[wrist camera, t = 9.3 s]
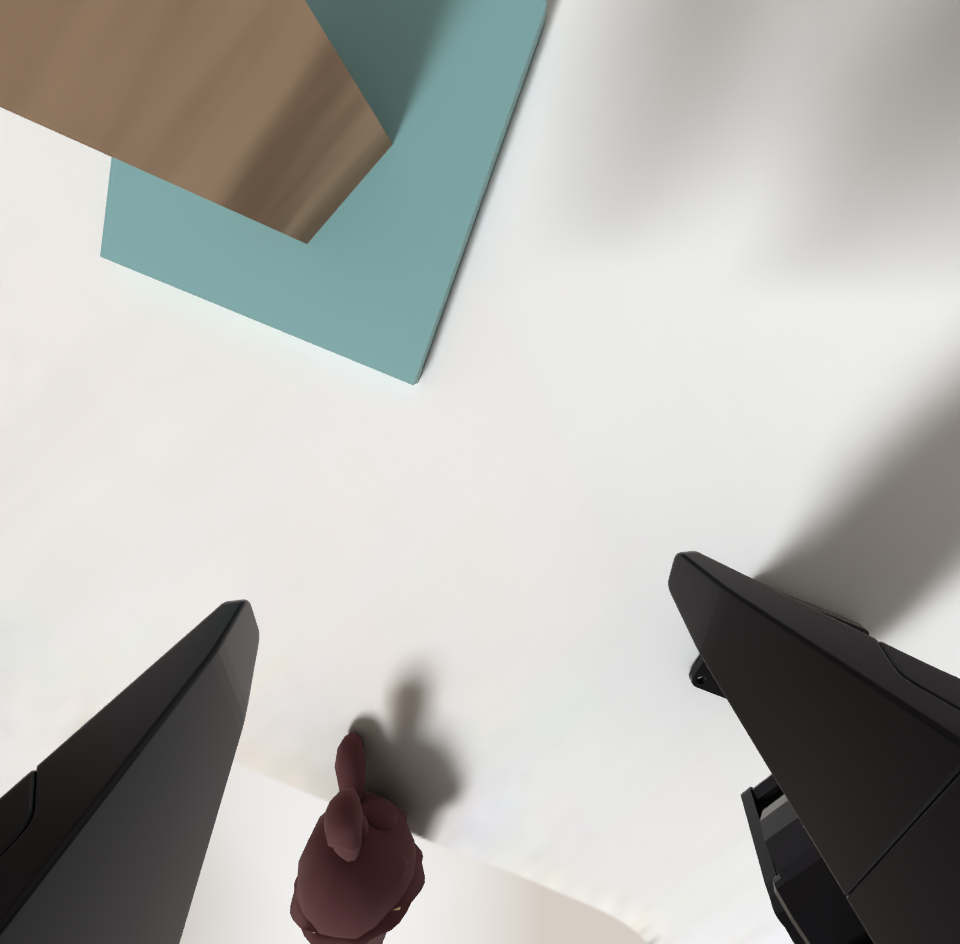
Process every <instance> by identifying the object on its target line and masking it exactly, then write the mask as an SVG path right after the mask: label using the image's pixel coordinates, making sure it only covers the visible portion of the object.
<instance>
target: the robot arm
mask: <svg viewBox="0 0 960 944" xmlns="http://www.w3.org/2000/svg"><path fill="white" fill-rule="evenodd" d="M668 586H669V590H670V593H671V595H672V597H673V599H674V601H675V603H676V606H677V608H678V610H679V612H680V614H681V616H682V618H683V620H684V622H685V624H686V627H687V629H688V631H689V633H690V635H691V637H692V639H693V641H694V643H695V645H696V647H697V649H698V651H699V653H700V655H701V656H700V658H699V659H698V661H697V662H696V664H695V665H694V666H693V668H692V669H691V671H690V673H689V678H690V680H691V682H692V684H693V685H694V686H695V687H697V688H700V689H702V690H705V691H708V692H710V693H713V694H715V695H718V696H721V697H723V698H726V699H727V700H728V702H729V703H730V705H731V707H732V708H733V710H734V712H735V713H736V715H737V717H738V718H739V720H740V722H741V723H742V725H743V727H744V728H745V730H746V731H747V733H748V735H749V736H750V738H751V740H752V741H753V743H754V745H755V746H756V748H757V750H758V751H759V753H760V755H761V756H762V758H763V760H764V761H765V763H766V765H767V766H768V768H769V770H770V771H771V773H772V774H771V775H770V776H769V777H767V778H766V779H765V780H763V781H762V782H761V783H759V784H758V785H757V786H756V787H754V788H753V787H750V788H748V789H747V790H746V791H744V792H743V793H742V794H741V798H742V801H743V805H744V809H745V812H746V816H747V820H748V823H749V827H750V831H751V834H752V838H753V842H754V845H755V849H756V853H757V856H758V860H759V864H760V867H761V871H762V875H763V878H764V882H765V885H766V888H767V891H768V894H769V897H770V900H771V904H772V907H773V910H774V913H775V914H776V916H777V918H778V919H779V921H780V922H781V923H782V925H783V926H784V927H785V928H786V930H787V932H788V933H789V935H790V937H791V939H792V941H793V942H794V944H960V679H959V678H957V677H955V676H953V675H950V674H948V673H946V672H944V671H941V670H939V669H937V668H935V667H933V666H931V665H929V664H927V663H925V662H922V661H920V660H918V659H916V658H914V657H912V656H910V655H908V654H906V653H903V652H901V651H899V650H897V649H895V648H893V647H891V646H889V645H887V644H885V643H883V642H878V641H877V640H876V639H875V638H873V637H871V636H869V633H868V631H867V630H866V629H865V628H864V627H862V626H861V625H860V624H858V623H855V622H853V621H850V620H848V619H845V618H843V617H840V616H838V615H835V614H833V613H830V612H828V611H825V610H823V609H820V608H818V607H815V606H813V605H810V604H808V603H806V602H803V601H801V600H798V599H796V598H793V597H791V596H788V595H786V594H783V593H781V592H779V591H777V590H774V589H772V588H770V587H768V586H766V585H764V584H762V583H760V582H758V581H756V580H754V579H752V578H750V577H748V576H746V575H744V574H742V573H740V572H738V571H736V570H734V569H731V568H729V567H727V566H725V565H723V564H721V563H719V562H717V561H715V560H713V559H711V558H709V557H707V556H705V555H703V554H701V553H699V552H696V551H688V552H680V553H678V554H677V555H676V556H675V558H674V561H673V565H672V569H671V572H670V576H669V580H668ZM258 644H259V629H258V626H257V623H256V620H255V617H254V613H253V610H252V607H251V604H250V603H249V601H247V600H235V601H227V602H224V603H223V604H221V605H220V606H219V607H218V608H217V609H215V610H214V611H213V612H212V613H211V614H210V615H209V616H207V617H206V618H205V619H204V620H203V621H202V622H201V623H200V624H198V625H197V626H196V627H195V628H194V629H193V630H192V631H190V632H189V633H188V634H187V635H186V636H185V637H184V638H182V639H181V640H180V641H179V642H178V643H177V644H176V645H174V646H173V647H172V648H171V649H170V650H169V651H168V652H166V653H165V654H164V655H163V656H162V657H161V658H160V659H159V660H157V661H156V662H155V663H154V664H153V665H152V666H151V667H149V668H148V669H147V670H146V671H145V672H144V673H143V674H141V675H140V676H139V677H138V678H137V679H136V680H135V681H133V682H132V683H131V684H130V685H129V686H128V687H127V688H125V689H124V690H123V691H122V692H121V693H120V694H119V695H117V696H116V697H115V698H114V699H113V700H112V701H111V702H110V703H108V704H107V705H106V706H105V707H104V708H103V709H102V710H100V711H99V712H98V713H97V714H96V715H95V716H94V717H92V718H91V719H90V720H89V721H88V722H87V723H86V724H84V725H83V726H82V727H81V728H80V729H79V730H78V731H76V732H75V733H74V734H73V735H72V736H71V737H70V738H68V739H67V740H66V741H65V742H64V743H63V744H62V745H61V746H59V747H58V748H57V749H56V750H55V751H54V752H53V753H51V754H50V755H49V756H48V757H47V758H46V759H45V760H43V761H42V762H41V763H40V764H39V765H38V766H37V769H36V770H34V771H31V772H30V773H28V774H27V775H26V776H25V777H24V778H23V779H22V780H20V781H19V782H18V783H17V784H16V785H15V786H14V787H12V788H11V789H10V790H9V791H8V792H7V793H6V794H4V795H3V796H2V797H1V798H0V944H179V943H180V939H181V936H182V932H183V929H184V926H185V922H186V919H187V915H188V912H189V909H190V905H191V902H192V899H193V895H194V891H195V888H196V885H197V881H198V878H199V875H200V871H201V868H202V864H203V861H204V858H205V854H206V851H207V848H208V844H209V841H210V837H211V834H212V830H213V827H214V824H215V820H216V817H217V813H218V810H219V807H220V803H221V800H222V797H223V793H224V789H225V786H226V783H227V780H228V776H229V773H230V769H231V766H232V763H233V759H234V756H235V752H236V749H237V746H238V742H239V739H240V735H241V732H242V728H243V724H244V721H245V716H246V711H247V706H248V701H249V695H250V689H251V683H252V678H253V672H254V666H255V661H256V655H257V649H258ZM701 676H703V677H702V678H699V679H697V678H698V677H701Z"/></svg>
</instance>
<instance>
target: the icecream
mask: <svg viewBox="0 0 960 944" xmlns="http://www.w3.org/2000/svg"><path fill="white" fill-rule="evenodd" d="M335 770H336V775H337V780H338V785H339V790H340V792H339V793H338V794H337V795H336V796H335V797H334V798H333V799H332V800H331V801H330V802H329V805H328V807H327V810H326V812H325V813H324V814H323V815H322V816H320V818H319V820H318V822H317V824H316V826H315V828H314V830H313V832H312V834H311V836H310V838H309V840H308V842H307V844H306V847H305V849H304V851H303V853H302V855H301V858H300V860H299V866H298V876H297V878H296V880H295V883H294V894H293V898H292V902H291V906H290V914H291V917H292V919H293V920H294V921H295V923H296V924H297V925H298V926H299V927H300V928H301V929H302V932H303V934H304V936H305V937H306V939H307V940H308V941H309V942H310V944H382V943H383V940H384V938H385V935H386V932H388V931H390V930H392V929H393V928H394V927H395V926H396V925H397V924H398V923H400V921H401V920H402V918H403V917H404V915H405V914H406V912H407V910H408V908H409V906H410V904H411V902H412V901H413V900H414V899H415V897H416V896H417V895H418V893H419V892H420V891H421V889H422V887H423V885H424V883H425V875H424V871H423V866H422V858H423V855H422V851H421V850H420V849H419V848H418V846H417V845H416V844H415V843H414V839H413V837H412V834H411V832H410V830H409V828H408V825H407V815H406V814H405V813H404V812H403V811H402V810H401V809H400V808H399V807H398V806H397V805H396V804H395V803H394V802H392V801H390V800H387V799H385V798H383V797H381V796H379V795H377V794H375V793H373V792H369V793H365V785H366V762H365V755H364V749H363V744H362V739H361V737H360V736H359V734H357V733H350V734H348V735H346V736H345V737H344V739H343V740H342V742H341V744H340V745H339V747H338V749H337V756H336V762H335Z"/></svg>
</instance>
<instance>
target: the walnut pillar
mask: <svg viewBox="0 0 960 944" xmlns="http://www.w3.org/2000/svg"><path fill="white" fill-rule="evenodd" d="M0 107H2V108H4V109H6V110H8V111H11V112H13V113H15V114H17V115H20V116H22V117H24V118H26V119H28V120H31V121H33V122H35V123H37V124H40V125H42V126H44V127H46V128H49V129H51V130H53V131H55V132H58V133H60V134H62V135H64V136H66V137H69V138H71V139H73V140H75V141H78V142H80V143H82V144H84V145H87V146H89V147H91V148H93V149H96V150H98V151H100V152H102V153H104V154H107V155H109V156H111V157H113V158H116V159H118V160H120V161H122V162H125V163H127V164H129V165H131V166H134V167H136V168H138V169H140V170H142V171H145V172H147V173H149V174H151V175H154V176H156V177H158V178H160V179H163V180H165V181H167V182H169V183H172V184H174V185H176V186H178V187H180V188H183V189H185V190H187V191H189V192H192V193H194V194H196V195H198V196H201V197H203V198H205V199H207V200H210V201H212V202H214V203H216V204H218V205H221V206H223V207H225V208H227V209H230V210H232V211H234V212H236V213H239V214H241V215H243V216H245V217H247V218H250V219H252V220H254V221H256V222H259V223H261V224H263V225H265V226H268V227H270V228H272V229H274V230H277V231H279V232H281V233H283V234H285V235H288V236H290V237H292V238H294V239H297V240H299V241H301V242H303V243H306V244H308V243H309V241H310V240H311V239H312V238H313V237H314V236H315V234H316V233H317V232H318V231H319V230H320V229H321V227H322V226H323V225H324V224H325V223H326V222H327V220H328V219H329V218H330V217H331V216H332V215H333V213H334V212H335V211H336V210H337V209H338V208H339V206H340V205H341V204H342V203H343V202H344V201H345V199H346V198H347V197H348V196H349V195H350V194H351V192H352V191H353V190H354V189H355V188H356V187H357V185H358V184H359V183H360V182H361V181H362V180H363V178H364V177H365V176H366V175H367V174H368V173H369V172H370V170H371V169H372V168H373V167H374V166H375V165H376V163H377V162H378V161H379V160H380V159H381V158H382V156H383V155H384V154H385V153H386V152H387V151H388V149H389V148H390V147H391V146H392V145H393V144H392V142H391V141H390V139H389V137H388V136H387V134H386V132H385V131H384V129H383V127H382V126H381V124H380V123H379V121H378V119H377V118H376V116H375V114H374V113H373V111H372V109H371V108H370V106H369V104H368V103H367V101H366V100H365V98H364V96H363V95H362V93H361V91H360V90H359V88H358V86H357V85H356V83H355V81H354V80H353V78H352V77H351V75H350V73H349V72H348V70H347V68H346V67H345V65H344V63H343V62H342V60H341V59H340V57H339V55H338V54H337V52H336V50H335V49H334V47H333V45H332V44H331V42H330V40H329V39H328V37H327V36H326V34H325V32H324V31H323V29H322V27H321V26H320V24H319V22H318V21H317V19H316V18H315V16H314V14H313V13H312V11H311V9H310V8H309V6H308V4H307V3H306V1H305V0H0Z"/></svg>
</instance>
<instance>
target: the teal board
mask: <svg viewBox="0 0 960 944" xmlns="http://www.w3.org/2000/svg"><path fill="white" fill-rule="evenodd" d="M305 1H306V3H307V4H308V6H309V8H310V9H311V11H312V13H313V14H314V16H315V18H316V19H317V21H318V22H319V24H320V26H321V27H322V29H323V31H324V32H325V34H326V36H327V37H328V39H329V40H330V42H331V44H332V45H333V47H334V49H335V50H336V52H337V54H338V55H339V57H340V59H341V60H342V62H343V63H344V65H345V67H346V68H347V70H348V72H349V73H350V75H351V77H352V78H353V80H354V81H355V83H356V85H357V86H358V88H359V90H360V91H361V93H362V95H363V96H364V98H365V100H366V101H367V103H368V104H369V106H370V108H371V109H372V111H373V113H374V114H375V116H376V118H377V119H378V121H379V123H380V124H381V126H382V127H383V129H384V131H385V132H386V134H387V136H388V137H389V139H390V141H391V142H392V144H393V145H392V146H391V147H390V148H389V149H388V151H387V152H386V153H385V154H384V155H383V156H382V158H381V159H380V160H379V161H378V162H377V163H376V165H375V166H374V167H373V168H372V169H371V170H370V172H369V173H368V174H367V175H366V176H365V177H364V178H363V180H362V181H361V182H360V183H359V184H358V185H357V187H356V188H355V189H354V190H353V191H352V192H351V194H350V195H349V196H348V197H347V198H346V199H345V201H344V202H343V203H342V204H341V205H340V206H339V208H338V209H337V210H336V211H335V212H334V213H333V215H332V216H331V217H330V218H329V219H328V220H327V222H326V223H325V224H324V225H323V226H322V227H321V229H320V230H319V231H318V232H317V233H316V234H315V236H314V237H313V238H312V239H311V240H310V241H309V243H308V244H306V243H303V242H301V241H299V240H297V239H294V238H292V237H290V236H288V235H285V234H283V233H281V232H279V231H277V230H274V229H272V228H270V227H268V226H265V225H263V224H261V223H259V222H256V221H254V220H252V219H250V218H247V217H245V216H243V215H241V214H239V213H236V212H234V211H232V210H230V209H227V208H225V207H223V206H221V205H218V204H216V203H214V202H212V201H210V200H207V199H205V198H203V197H201V196H198V195H196V194H194V193H192V192H189V191H187V190H185V189H183V188H180V187H178V186H176V185H174V184H172V183H169V182H167V181H165V180H163V179H160V178H158V177H156V176H154V175H151V174H149V173H147V172H145V171H142V170H140V169H138V168H136V167H134V166H131V165H129V164H127V163H125V162H122V161H120V160H118V159H116V158H113V157H112V160H111V169H110V177H109V186H108V194H107V203H106V211H105V220H104V229H103V237H102V246H101V254H100V257H103V258H105V259H108V260H110V261H113V262H115V263H117V264H120V265H122V266H125V267H127V268H130V269H132V270H135V271H137V272H139V273H142V274H144V275H147V276H149V277H152V278H154V279H156V280H159V281H161V282H164V283H166V284H169V285H171V286H173V287H176V288H178V289H181V290H183V291H186V292H188V293H190V294H193V295H195V296H198V297H200V298H203V299H205V300H207V301H210V302H212V303H215V304H217V305H220V306H222V307H224V308H227V309H229V310H232V311H234V312H237V313H239V314H241V315H244V316H246V317H249V318H251V319H254V320H256V321H259V322H261V323H263V324H266V325H268V326H271V327H273V328H276V329H278V330H280V331H283V332H285V333H288V334H290V335H293V336H295V337H297V338H300V339H302V340H305V341H307V342H310V343H312V344H314V345H317V346H319V347H322V348H324V349H327V350H329V351H331V352H334V353H336V354H339V355H341V356H344V357H346V358H348V359H351V360H353V361H356V362H358V363H361V364H363V365H365V366H368V367H370V368H373V369H375V370H378V371H380V372H383V373H385V374H387V375H390V376H392V377H395V378H397V379H400V380H402V381H404V382H407V383H409V384H412V385H414V384H416V383H418V380H419V377H420V375H421V372H422V369H423V366H424V363H425V360H426V358H427V355H428V352H429V349H430V346H431V343H432V341H433V338H434V335H435V332H436V329H437V326H438V324H439V321H440V318H441V315H442V312H443V309H444V306H445V304H446V301H447V298H448V295H449V292H450V289H451V287H452V284H453V281H454V278H455V275H456V272H457V270H458V267H459V264H460V261H461V258H462V255H463V253H464V250H465V247H466V244H467V241H468V238H469V236H470V233H471V230H472V227H473V224H474V221H475V219H476V216H477V213H478V210H479V207H480V204H481V201H482V199H483V196H484V193H485V190H486V187H487V184H488V182H489V179H490V176H491V173H492V170H493V167H494V165H495V162H496V159H497V156H498V153H499V150H500V148H501V145H502V142H503V139H504V136H505V133H506V131H507V128H508V125H509V122H510V119H511V116H512V114H513V111H514V108H515V105H516V102H517V99H518V96H519V94H520V91H521V88H522V85H523V82H524V79H525V77H526V74H527V71H528V68H529V65H530V62H531V60H532V57H533V54H534V51H535V48H536V45H537V43H538V40H539V37H540V34H541V31H542V28H543V26H544V23H545V17H546V8H547V1H545V0H305Z"/></svg>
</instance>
